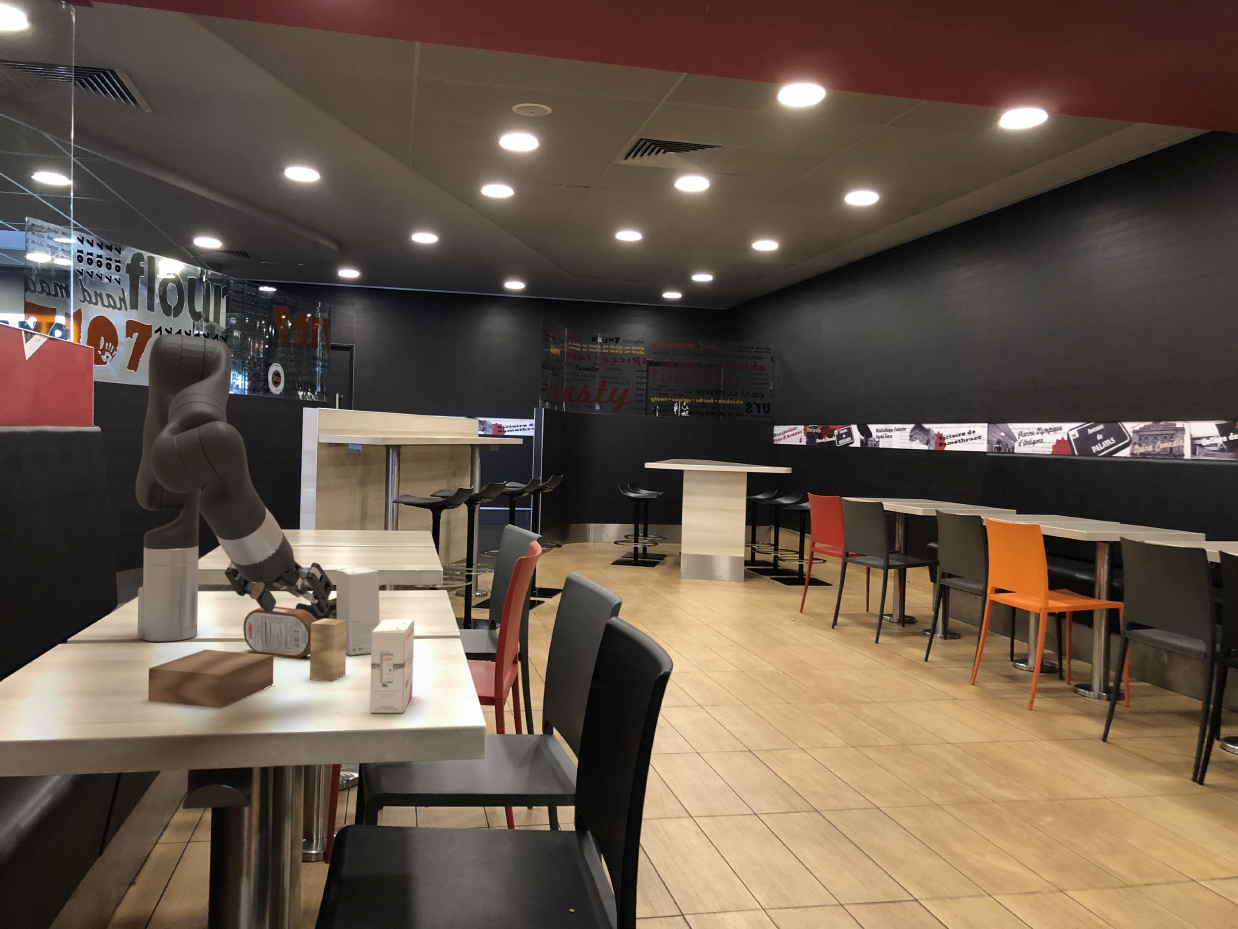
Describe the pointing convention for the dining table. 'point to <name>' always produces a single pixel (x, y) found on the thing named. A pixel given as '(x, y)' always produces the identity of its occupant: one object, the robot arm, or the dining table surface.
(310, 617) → the tin
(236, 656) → the walnut slab
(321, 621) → the oak post
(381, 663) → the ink box
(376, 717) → the dining table surface
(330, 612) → the salad plate
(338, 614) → the skincare box
